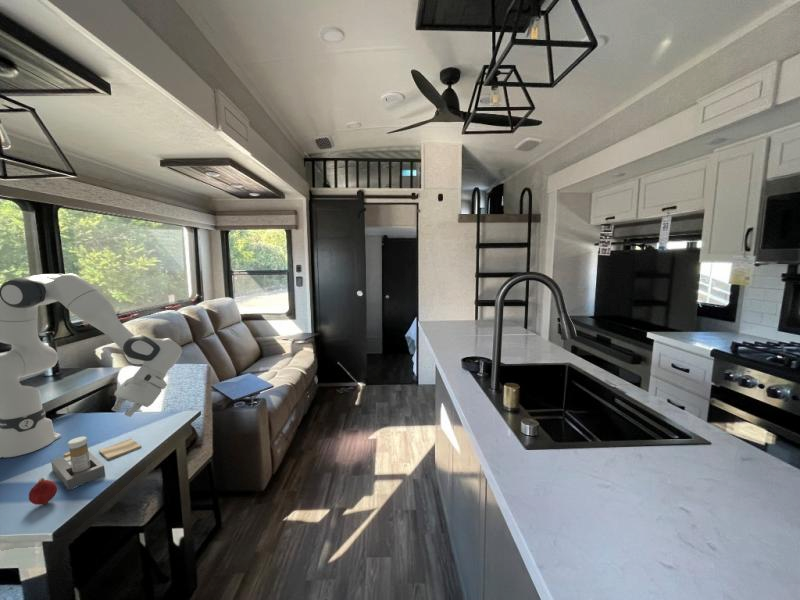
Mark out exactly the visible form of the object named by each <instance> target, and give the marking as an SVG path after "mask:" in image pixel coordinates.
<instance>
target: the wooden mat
mask: <svg viewBox="0 0 800 600" xmlns="http://www.w3.org/2000/svg"><path fill="white" fill-rule="evenodd" d="M141 448H142V445H141V444H140V443H138V442H137V441H135V439H132V438H129V439H125V440H123V441H121V442H117V443H116V444H113V445H110V446H108V447H104V448H102V449H99V450H98V452H99V454H100V455H101V454H102V455H101V456H102V457H104V458H105V460H107V461H111V460H114V459H116V458H118V457H121V456H123V455H126V454H129V453H131V452H134V451H136V450H139V449H141Z"/></svg>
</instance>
